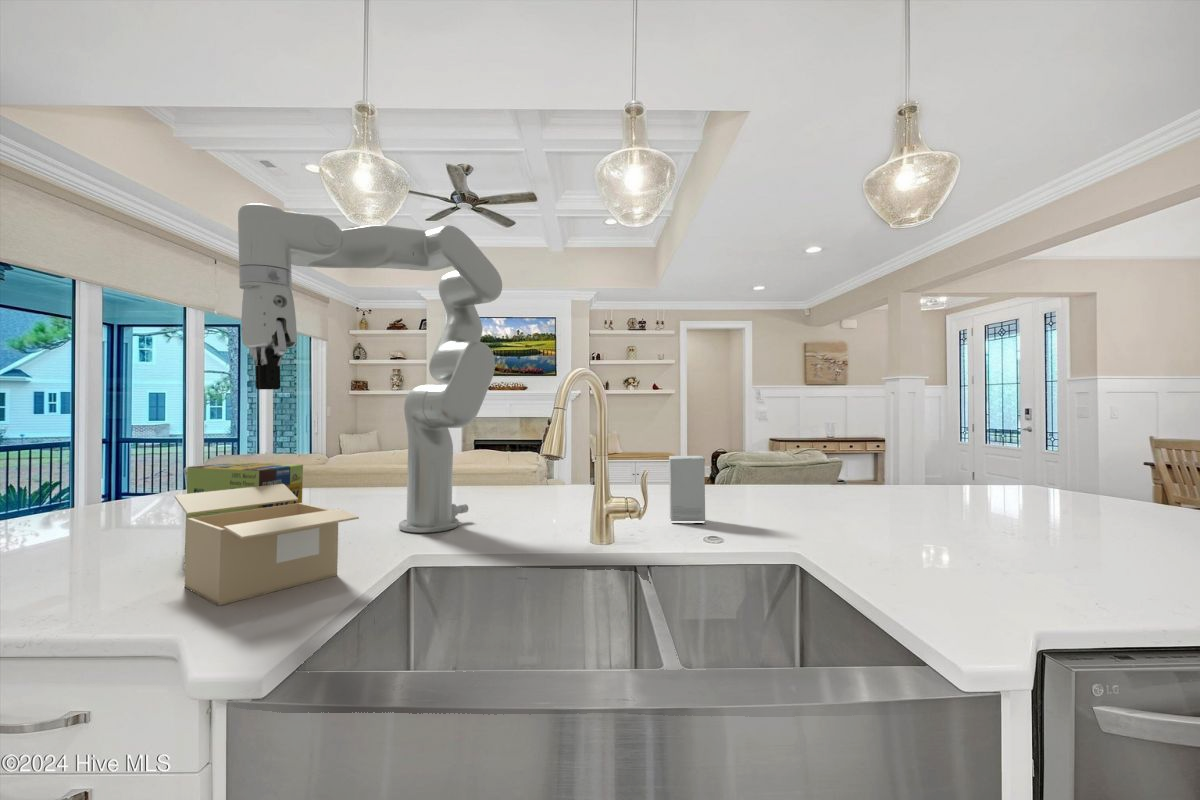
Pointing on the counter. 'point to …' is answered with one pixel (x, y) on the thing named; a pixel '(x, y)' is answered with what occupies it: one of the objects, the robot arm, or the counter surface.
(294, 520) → the near flap
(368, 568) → the counter surface
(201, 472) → the protein box
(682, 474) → the skincare box
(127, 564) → the counter surface
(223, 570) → the carton
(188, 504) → the far flap
